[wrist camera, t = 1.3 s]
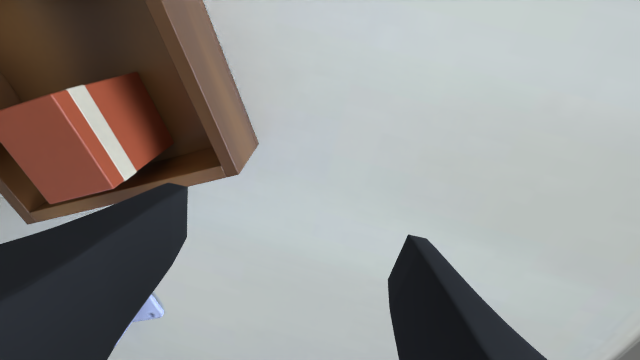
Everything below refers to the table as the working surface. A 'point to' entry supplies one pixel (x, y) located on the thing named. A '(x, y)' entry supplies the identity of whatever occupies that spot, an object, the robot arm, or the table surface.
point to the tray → (119, 59)
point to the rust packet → (85, 136)
